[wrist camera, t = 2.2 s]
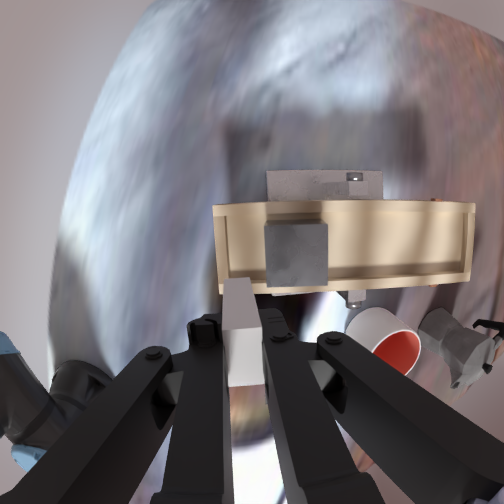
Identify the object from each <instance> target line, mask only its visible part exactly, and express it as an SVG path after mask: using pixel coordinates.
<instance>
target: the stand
mask: <svg viewBox="0 0 504 504" xmlns="http://www.w3.org/2000/svg"><path fill="white" fill-rule="evenodd" d="M266 185H267V202H269V201H296V200H345V199H383V174H382V171H367V170H273V171H266ZM336 292H337V293H338V294H340V295H341V296H342V297H343V298H344V299H345V300H346V305H345V306H346V307H347V308H349V309H358V308H360V307H361V301H363V300H366V289H365V290H347V291H336ZM300 293H310V292H299V293H271V294H272V296H279V295H289V294H300Z"/></svg>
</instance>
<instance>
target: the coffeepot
mask: <svg viewBox="0 0 504 504" xmlns="http://www.w3.org/2000/svg"><path fill="white" fill-rule="evenodd" d="M478 325H481V326H483V327H485V328H491V329H494V330H499V333H498V334H497V335H496V336H494V337H493V338H491V337H489V336H486V335H484V334H481V333H479V332H476V331H474V330H471V329H469V328H464V327H463V326H462V325H461V324H460V323H459V322H458V321H457V320H456V319H455V318H454V317H453V316H452V315H451V314H450V313H448V312H447V311H446V310H445V309H444V308H442V307H440V308H437V309H434V310H433V311H431V312H430V313H428V314H427V315H426V317H425V318H424V319H423V321H422V323H421V324H420V327H419V329H418V336H419V338H420V342H421V346H423V347H425V348H426V349H428V350H430V351H432V352H434V353H436V354H438V355H440V356H442V357H443V358H444V361H445V362H446V363H447V364H448V366H449V367H450V371H451V379H452V383H451V386H450V388H452V389H455V388H458V387H460V386H461V385H463V384H466V385H468V386H469V385H470V384H472V383H473V382H475V381H476V380H478V379H479V378H481V377H482V376H483V374H484V373H485V372H486V374H488V373H490V371H491V370H492V367H493V366H492V365H490V364H491V362H492V361H493V358H494V354H495V349H497V348H498V347H499V346H500V344H501V343H502V341H503V340H504V323H503V322H496V321H489V320H482V319H478V320H477V321H476V322H475V323H474V324H473V325H472V326H473V328H474V329H475V328H476V327H477V326H478Z"/></svg>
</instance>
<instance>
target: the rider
mask: <svg viewBox="0 0 504 504" xmlns="http://www.w3.org/2000/svg"><path fill="white" fill-rule="evenodd" d="M264 240H265V262H266V285H267V288H269V287H303V286H328V224H327V223H326V222H325V221H324V220H322V219H290V220H266V223H265V225H264Z"/></svg>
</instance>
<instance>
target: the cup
mask: <svg viewBox="0 0 504 504" xmlns="http://www.w3.org/2000/svg"><path fill="white" fill-rule="evenodd" d="M346 335H348V336H350V337H351V338H352V339H354V340H355V341H357V342H358V343H359V344H361V345H362V346H364V347H365V348H366V349H368V350H369V351H371V352H372V353H374V354H375V355H376V356H378V357H379V358H381V359H382V360H383V361H385V362H386V363H388V364H389V365H391V366H392V367H393V368H395V369H396V370H398V371H399V372H401V373H402V374H403V375H406V374H407V373H408V372H409V371H410V370H411V369H412V368H413V366H414V365H415V363H416V361H417V359H418V357H419V354H420V350H421V342H420V338H419V336H418V334H417V333H416V332H415V331H413V330H412V329H411V328H410V327H408V326H407V325H406V324H405V323H403V322H402V321H401V320H400V319H398V318H397V317H396V316H395V315H393V314H392V313H391V312H389V311H388V310H386V309H384V308H380V307H373V308H369V309H366V310H364V311H362V312H360V313H359V314H358V315H357V316H355V317H354V319H353V320H352V321H351V322H350V324H349V326H348V328H347V330H346Z"/></svg>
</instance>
